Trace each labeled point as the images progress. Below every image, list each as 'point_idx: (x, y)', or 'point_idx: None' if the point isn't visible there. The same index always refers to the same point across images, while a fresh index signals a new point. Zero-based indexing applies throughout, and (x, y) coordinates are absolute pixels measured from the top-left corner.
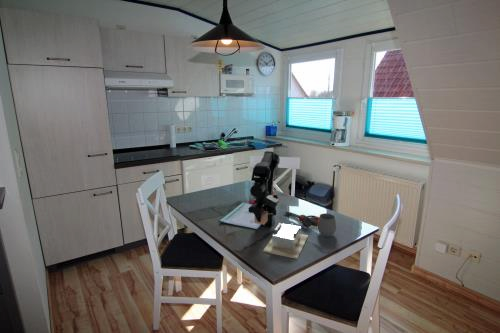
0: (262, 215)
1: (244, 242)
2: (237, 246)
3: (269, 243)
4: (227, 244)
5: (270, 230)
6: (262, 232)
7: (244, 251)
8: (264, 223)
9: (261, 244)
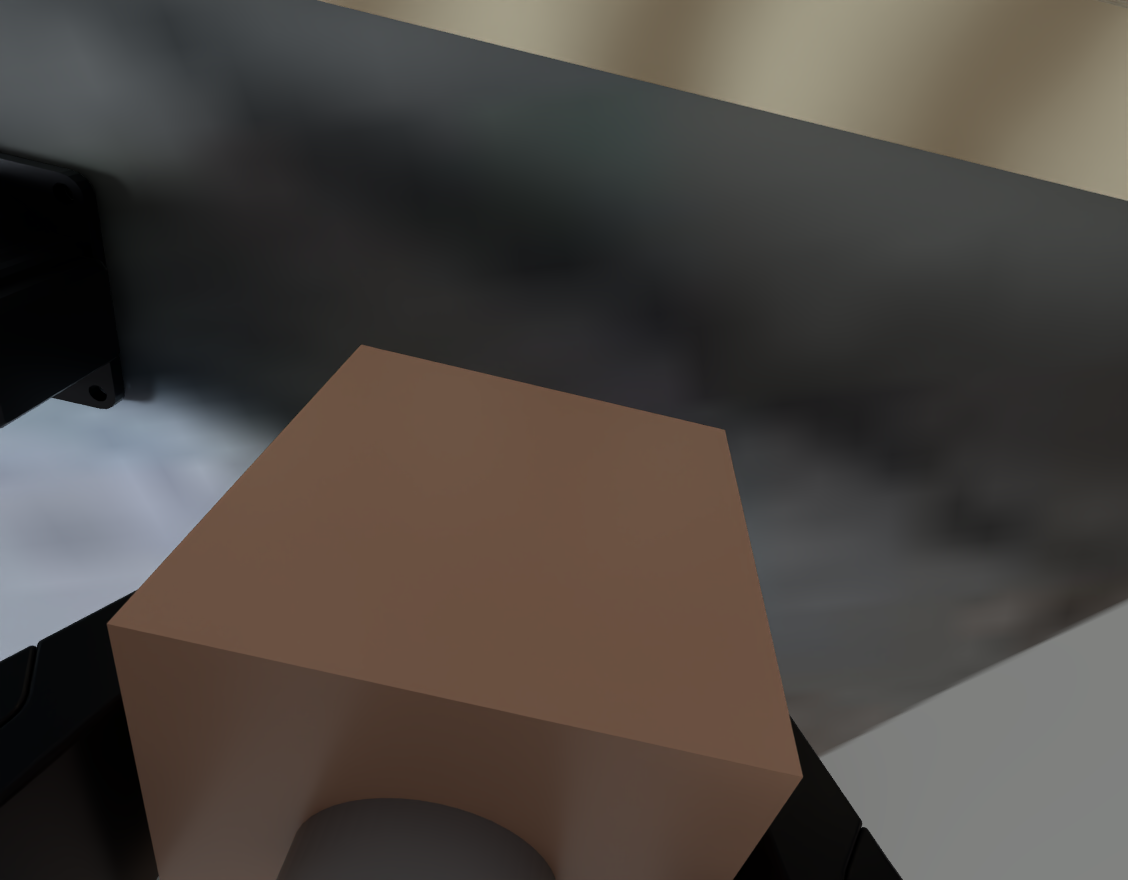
0: (752, 809)
1: (793, 559)
2: (918, 627)
3: (920, 113)
4: (852, 729)
5: (236, 170)
6: (381, 326)
7: (1097, 529)
8: (696, 440)
9: (872, 288)
